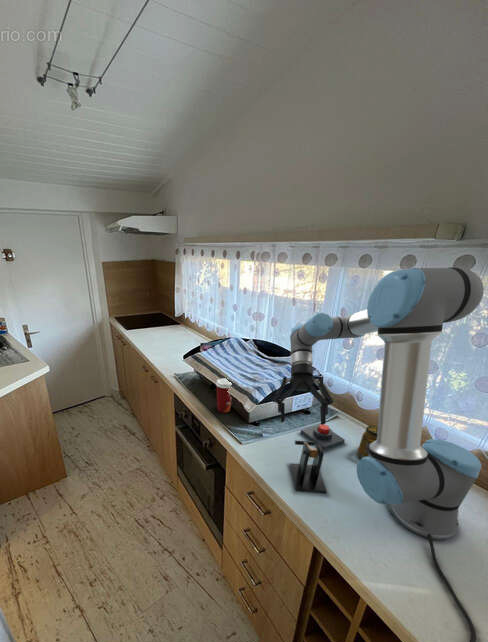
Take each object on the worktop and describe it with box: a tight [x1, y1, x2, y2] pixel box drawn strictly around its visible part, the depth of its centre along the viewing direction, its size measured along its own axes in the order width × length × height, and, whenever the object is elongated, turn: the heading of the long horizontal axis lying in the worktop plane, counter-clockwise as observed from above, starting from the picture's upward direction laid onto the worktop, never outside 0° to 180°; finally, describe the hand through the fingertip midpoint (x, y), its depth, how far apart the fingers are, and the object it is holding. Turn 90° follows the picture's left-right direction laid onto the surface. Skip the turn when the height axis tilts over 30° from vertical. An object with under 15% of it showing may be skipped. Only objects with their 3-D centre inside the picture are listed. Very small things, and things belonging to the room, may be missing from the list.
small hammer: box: [294, 439, 318, 459], centre depth 97 cm, size 12×6×2 cm, turn 173°
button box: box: [300, 423, 346, 451], centre depth 116 cm, size 12×10×4 cm
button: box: [318, 424, 330, 434], centre depth 115 cm, size 4×4×2 cm
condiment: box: [355, 425, 378, 460], centre depth 104 cm, size 7×8×12 cm
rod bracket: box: [289, 443, 327, 494], centre depth 95 cm, size 12×9×13 cm
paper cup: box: [215, 377, 233, 414], centre depth 134 cm, size 8×8×14 cm
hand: (302, 422), depth 106 cm, fingers open, 13 cm apart
